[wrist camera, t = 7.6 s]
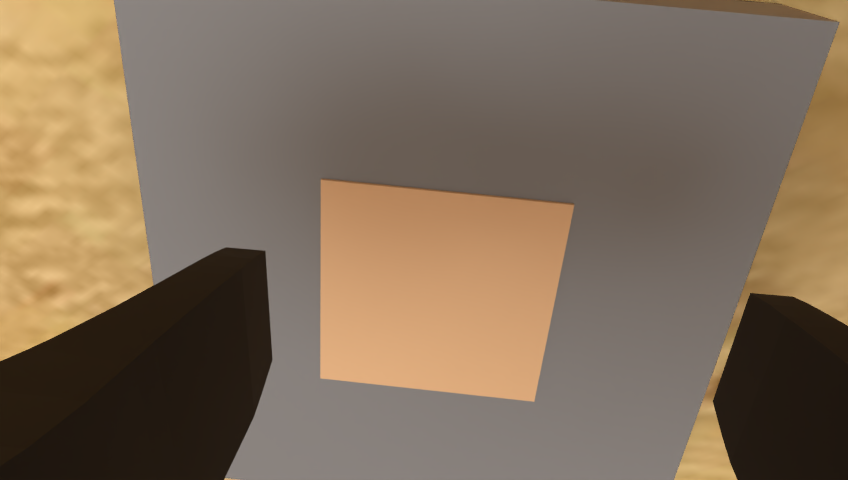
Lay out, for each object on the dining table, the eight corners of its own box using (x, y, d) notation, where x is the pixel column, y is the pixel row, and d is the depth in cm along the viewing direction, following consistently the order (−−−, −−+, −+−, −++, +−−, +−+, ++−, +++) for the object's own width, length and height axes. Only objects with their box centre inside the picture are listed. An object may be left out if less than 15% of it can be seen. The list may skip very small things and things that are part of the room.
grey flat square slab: (780, 3, 16) (842, 22, 14) (636, 457, 24) (657, 529, 21) (166, -52, 17) (105, -44, 14) (212, 411, 24) (178, 474, 21)
